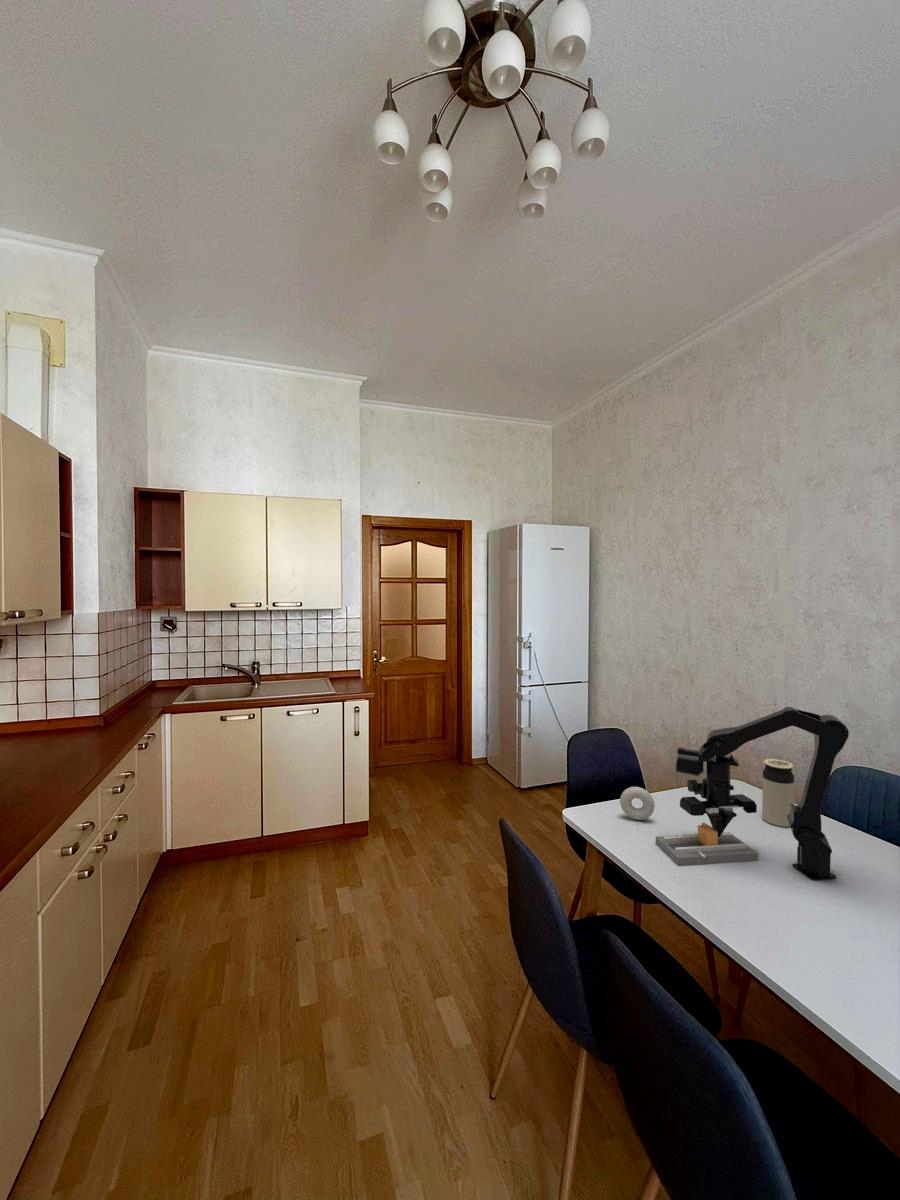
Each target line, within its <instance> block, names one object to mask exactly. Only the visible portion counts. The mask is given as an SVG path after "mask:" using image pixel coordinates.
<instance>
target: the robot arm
mask: <svg viewBox="0 0 900 1200" xmlns="http://www.w3.org/2000/svg"><path fill="white" fill-rule="evenodd" d="M792 726H793V727H796V728H798V729H801V730H803V731H805V732H808V733H811V734H813V739H814V741H813V742H814V752H813V755H812V758H811V762H810V764H809V765H810V766H809V769H808V774H807V776H806V777H807V778H806V780H805V786H804V789H803V793H802V795H801V796H802V797H801V799H800V802H798V804H796V805H795V803H794V804H792V803H791V804H790V813H789V814H788V815H787V819H788V822H789V825H790V826H789V828H790V830H791V833H792V835H793V838H794V840H796V841H797V842H798V844H797V852H796V855H797V856H796V858H797V859H796V862H795V863H794V862H793V863H792V867H793V868H795V869H796V870H798V871H799V872H801V873H802V874H803V875H805V876H806V877H808V878H809V879H811V880H813V881H818V880H833V879H837V876H836V875H835V874H833V872H831V858H832V856H831V855H832V852H833V850H832V847H831V845H830V843H829V841H828V838H827V836H826V834H824V832H823V831H822V815H821V814H822V813H821V811H822V807H823V803H824V799H825V795H826V793H827V788H828V784H829V781H830V777H831V774H832V770H833V765H834V762H835V759H836V756H838V754H839V753H840V752H841V751H842V750H843V748H844V746H845V744H846V743H847V740H848V739H849V737H850V735H849V734H850V732H849V729H848V727H847V726H846V725H845V723H844V722H842V721H841V719H840V718H838V717H837V716H835V715H830V714H822V715H819V714H816V713H813V712H810V711H806V710H801V709H797V708H795V707H792V706H786V707H784V708H781V710H778V711H775V712H773V713H770V714H767V715H765V716H762V717H760V718H757V719H754V720H752V721H748V722H747V723H744V724H742V725H741V724H740V725H739V726H735V727H734V726H733V727H732V726H731V727H724V728H719V729H714V730H711V731H710V732H709V733H708V734H707V736H706V741H705V742H704V743H703V744H702V746H700V747H699V750H696V749H689V748H684V747H678V748H677V757H676V763H675V767H676V769H675V771H676V773H677V774H678V773H679V774H683V775H690V776H696V777H699V776H701V775H702V774H704V767H705V764H704V762H705V763H706V770H705V771H706V772H705V773H706V774H705V775H706V778H703V779H702V782H698V781H697V779H687V785H686V786H687V791H688V792H690V793H693V794H694V795H695V796H682V797H681V798H680V800H679V807H680V808H681V809H682V810H684V811H685V812H686V813H688V814H689V815H690V816H694V817H696V816H697V817H698V816H704V815H705V814H706V816H707V817H708V819H709V822H710V826H711V827H712V828H713V829H714V830H716V831H717V832H718V837H720V836H721V834H722V833H724V832H725V830H726V828H727V827H728V825H729V824H730V822H731V821H732V820H733V818H735V817H737V816H738V814H737V813H735V812H734V808H742V809H743V811H744V813H747V814H756V813H757V812H758V809H757V808H758V807H757V806H758V805H757V804H756V802H755V800H753V799H751V798H750V797H748V796H746V795H744V794H742V793H741V794H731V791H734V789H735V788H734V787H735V786H734V785H732V784H731V767H739V766H740V763H739V760H738V759H737V758H735V757H734V754H732V753H734V752H735V751H736V750H738V749H739V748H740V747H741V746H743V745H745V744H746V743H748V742H751V741H755V740H756V739H759V738H762V737H764V736H767V735H769V734H772V733H775V732H778V731H781V730H784V729H786V728H789V727H792ZM697 795H700V798H702V799H705V800H700V799H699V798H697V797H696V796H697Z"/></svg>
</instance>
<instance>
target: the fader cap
mask: <svg viewBox="0 0 900 1200" xmlns="http://www.w3.org/2000/svg"><path fill="white" fill-rule="evenodd" d="M697 834H698V841H700V842H701V843H702V844H703V845H705V846H710V845H718V832H717V831H716V830H714V829H713V828H712V826H711V825H709V824H707V823H706V822H701V824H700V825H699V824H698V825H697Z"/></svg>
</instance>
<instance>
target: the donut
mask: <svg viewBox="0 0 900 1200" xmlns="http://www.w3.org/2000/svg"><path fill="white" fill-rule="evenodd" d="M634 799H638V800H640V801H641V802H642V806H641V807H639V808H638V807H635V806H633V803H632V801H633V800H634ZM654 800H655V799H654V798H653V796H652V794H650V792H649V791H648V790H646V789H645V788H642V787H639V786H630V787H628V788H626V789H624V790H623V792H622V793H621V795H620V800H619V803H620V807H621V810H622V812H623V813H624V814H625V815H626V816H628V817H629V818H631V819H632V820H636V821H644V820H646V819H647V820H648V818H650V817H652V815H653V813H654V811H655V807H656V805H655V801H654Z"/></svg>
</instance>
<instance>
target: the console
mask: <svg viewBox="0 0 900 1200" xmlns="http://www.w3.org/2000/svg"><path fill="white" fill-rule="evenodd" d="M656 844H657V845H658V846H659V847H660V848H659V847H658V846H657V845H656ZM655 845H656V846H657V847H658V848H659V849H661V851H662V852H663V853H664V854H665V855H667V856H668V858H670V859H671V861H673V863H675V864H676V866H678V867H680V866H693V865H696V866H697V865H711V864H724V863H725V864H726V863H740V862H756V861H759V858H758V857H759V854H758V853H759V852H757V851H755V850H754V849H753V848H752V847H751V846H749V844H748V843H747V842H746V843H745V842H743V841H742V840H741V839H739V838H738V837H736V836H735V835H734V833H731V832H723V833H722V834H721V836H720V837H718V845H710V846H705V845H703V844H702V843H701V842H700V841H698V833H696V834H679V833H678V834H677V835H661V836H655Z"/></svg>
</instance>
